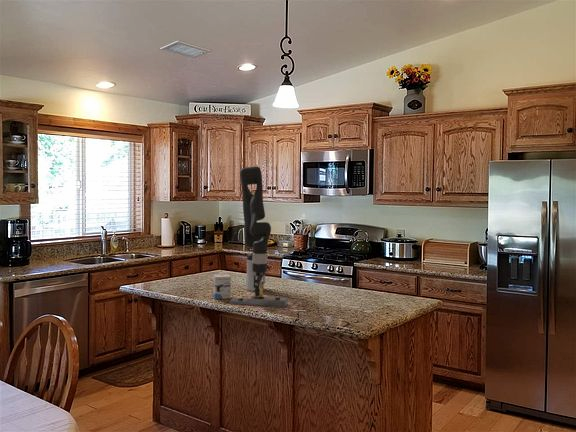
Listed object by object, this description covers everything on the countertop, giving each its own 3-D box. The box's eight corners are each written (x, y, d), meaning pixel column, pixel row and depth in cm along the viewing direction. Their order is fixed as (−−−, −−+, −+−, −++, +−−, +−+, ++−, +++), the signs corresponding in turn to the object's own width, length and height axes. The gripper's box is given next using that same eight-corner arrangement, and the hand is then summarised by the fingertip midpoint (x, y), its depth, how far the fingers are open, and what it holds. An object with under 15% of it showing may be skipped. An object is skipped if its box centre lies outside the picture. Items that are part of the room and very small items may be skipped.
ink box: (214, 299, 270) (214, 276, 270) (213, 297, 275) (213, 275, 275) (230, 298, 273) (231, 276, 272) (229, 296, 277) (229, 274, 277)
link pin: (255, 302, 264) (256, 283, 263) (263, 303, 263) (264, 283, 263) (253, 304, 260) (254, 284, 259) (261, 305, 259) (262, 285, 258)
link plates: (233, 300, 267) (233, 293, 267) (287, 304, 262) (287, 296, 262) (229, 303, 260) (230, 296, 260) (285, 307, 256) (285, 299, 255)
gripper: (255, 259, 268) (255, 291, 269) (249, 263, 254) (248, 296, 255) (270, 260, 267) (269, 291, 268) (264, 264, 253) (263, 297, 254)
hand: (259, 294), depth 261 cm, fingers open, 8 cm apart
